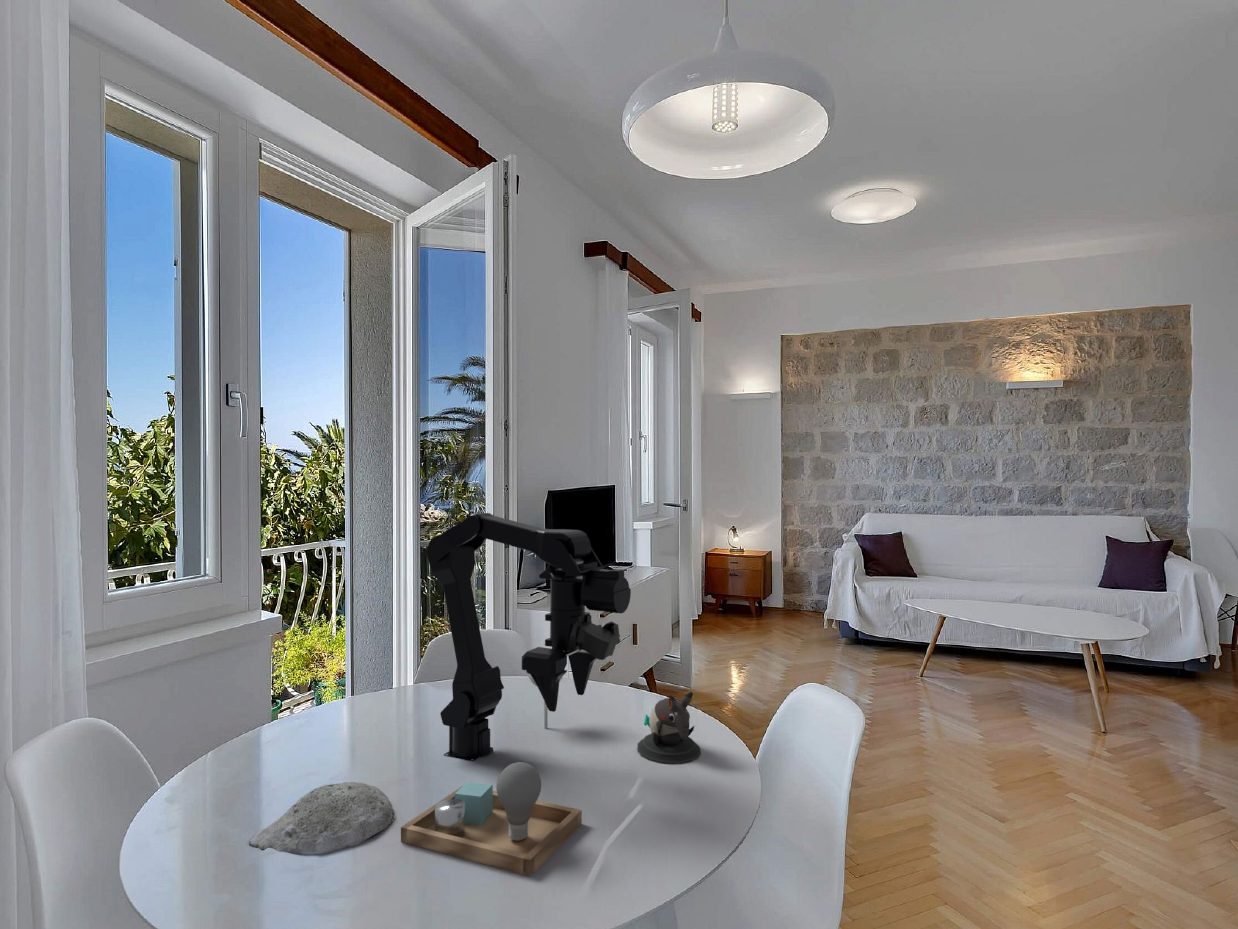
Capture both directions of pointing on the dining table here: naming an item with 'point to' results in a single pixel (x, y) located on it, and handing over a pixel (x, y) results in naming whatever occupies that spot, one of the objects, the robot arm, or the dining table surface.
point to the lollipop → (544, 704)
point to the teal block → (476, 801)
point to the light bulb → (518, 796)
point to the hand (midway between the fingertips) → (566, 702)
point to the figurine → (669, 733)
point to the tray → (498, 836)
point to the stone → (328, 820)
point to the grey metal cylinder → (450, 817)
